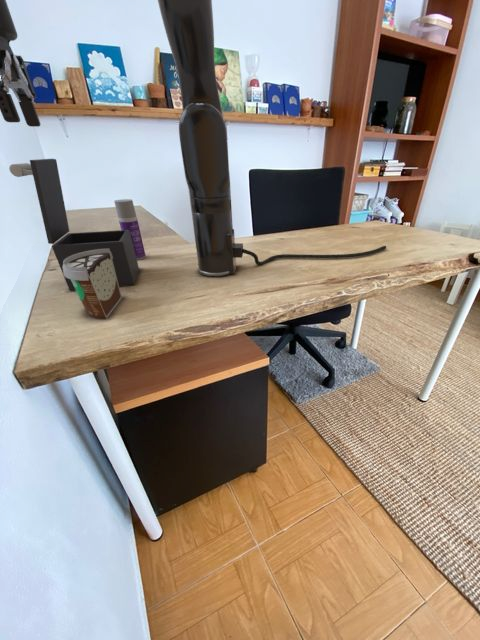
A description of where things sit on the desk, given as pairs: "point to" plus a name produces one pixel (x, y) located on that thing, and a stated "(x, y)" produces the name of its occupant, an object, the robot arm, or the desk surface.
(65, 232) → the lid
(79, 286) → the food container
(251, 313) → the desk surface
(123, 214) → the container
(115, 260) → the dark grey open box
